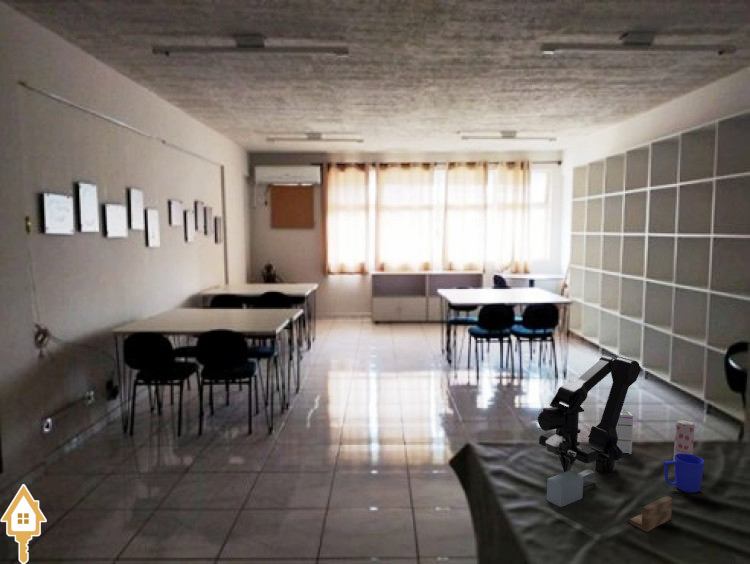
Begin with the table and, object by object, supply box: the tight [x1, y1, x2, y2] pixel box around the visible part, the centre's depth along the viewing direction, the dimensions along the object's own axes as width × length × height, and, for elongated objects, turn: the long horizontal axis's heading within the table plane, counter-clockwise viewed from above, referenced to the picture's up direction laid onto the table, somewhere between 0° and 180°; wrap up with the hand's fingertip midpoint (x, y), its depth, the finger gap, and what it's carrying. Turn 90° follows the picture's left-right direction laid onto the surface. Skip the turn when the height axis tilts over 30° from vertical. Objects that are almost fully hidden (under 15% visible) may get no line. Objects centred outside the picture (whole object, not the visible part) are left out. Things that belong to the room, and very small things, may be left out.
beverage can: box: [672, 418, 695, 461], centre depth 192 cm, size 6×6×15 cm
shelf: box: [625, 495, 673, 533], centre depth 163 cm, size 12×28×6 cm, turn 34°
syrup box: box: [616, 409, 634, 455], centre depth 203 cm, size 6×6×14 cm
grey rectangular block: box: [576, 468, 596, 488], centre depth 172 cm, size 10×2×4 cm, turn 124°
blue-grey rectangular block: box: [546, 470, 584, 508], centre depth 163 cm, size 10×5×8 cm, turn 124°
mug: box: [663, 453, 705, 494], centre depth 173 cm, size 8×12×10 cm
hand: (566, 473), depth 177 cm, fingers closed
